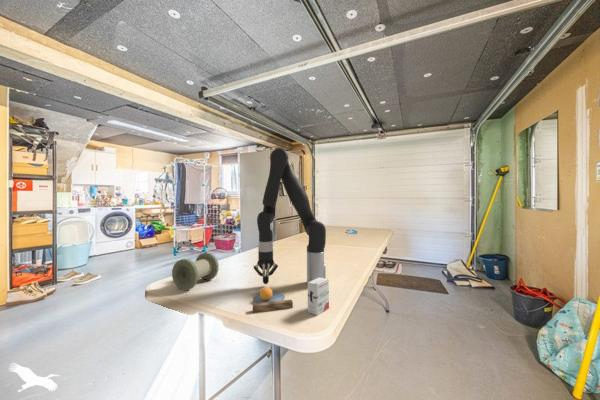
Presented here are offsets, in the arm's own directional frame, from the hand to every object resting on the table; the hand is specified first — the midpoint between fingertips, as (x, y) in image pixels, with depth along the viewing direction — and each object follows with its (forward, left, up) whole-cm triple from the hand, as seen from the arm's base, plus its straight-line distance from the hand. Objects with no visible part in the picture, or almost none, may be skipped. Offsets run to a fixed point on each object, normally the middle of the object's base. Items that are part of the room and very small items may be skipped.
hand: (265, 283), depth 114 cm
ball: (+2, +16, +1) cm, 16 cm away
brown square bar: (0, +25, -2) cm, 25 cm away
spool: (+35, -13, -2) cm, 37 cm away
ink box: (-18, +31, -2) cm, 35 cm away
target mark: (0, +14, -2) cm, 14 cm away
